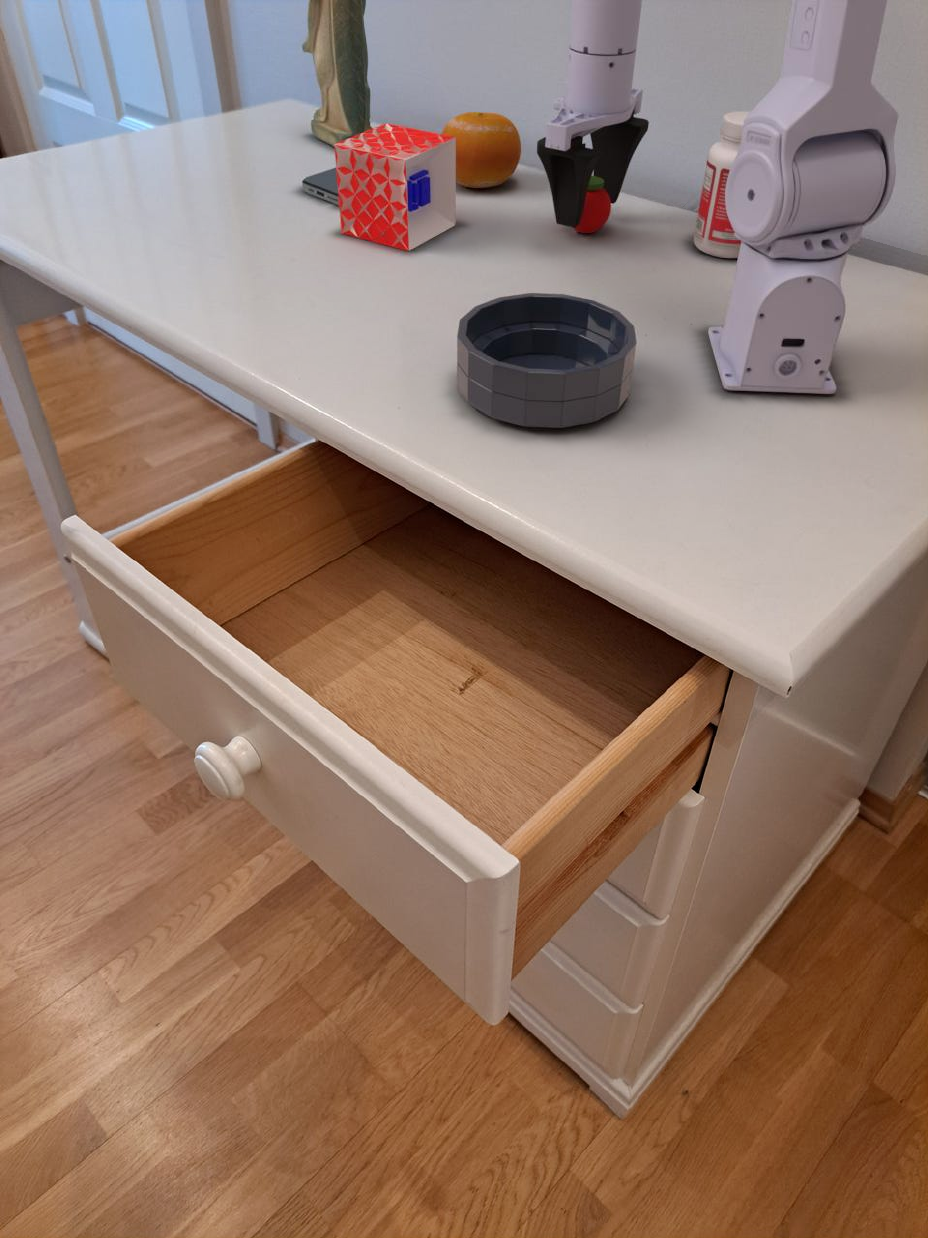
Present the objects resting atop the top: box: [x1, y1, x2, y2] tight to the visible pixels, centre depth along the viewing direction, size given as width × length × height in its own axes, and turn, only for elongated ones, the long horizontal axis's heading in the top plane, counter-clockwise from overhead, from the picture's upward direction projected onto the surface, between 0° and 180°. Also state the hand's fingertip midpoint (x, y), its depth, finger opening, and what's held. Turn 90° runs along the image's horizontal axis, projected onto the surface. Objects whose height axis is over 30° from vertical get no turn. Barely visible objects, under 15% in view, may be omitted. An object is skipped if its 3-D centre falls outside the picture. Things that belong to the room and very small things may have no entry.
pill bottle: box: [693, 110, 752, 259], centre depth 83 cm, size 6×6×11 cm
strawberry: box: [571, 175, 612, 234], centre depth 88 cm, size 4×4×5 cm
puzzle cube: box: [334, 123, 457, 252], centre depth 87 cm, size 8×8×8 cm
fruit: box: [441, 111, 522, 189], centre depth 97 cm, size 8×8×8 cm
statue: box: [301, 0, 373, 148], centre depth 102 cm, size 7×8×25 cm
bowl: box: [456, 292, 637, 429], centre depth 65 cm, size 12×12×4 cm
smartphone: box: [301, 167, 339, 207], centre depth 98 cm, size 8×2×15 cm
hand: (587, 212), depth 88 cm, fingers open, 7 cm apart
